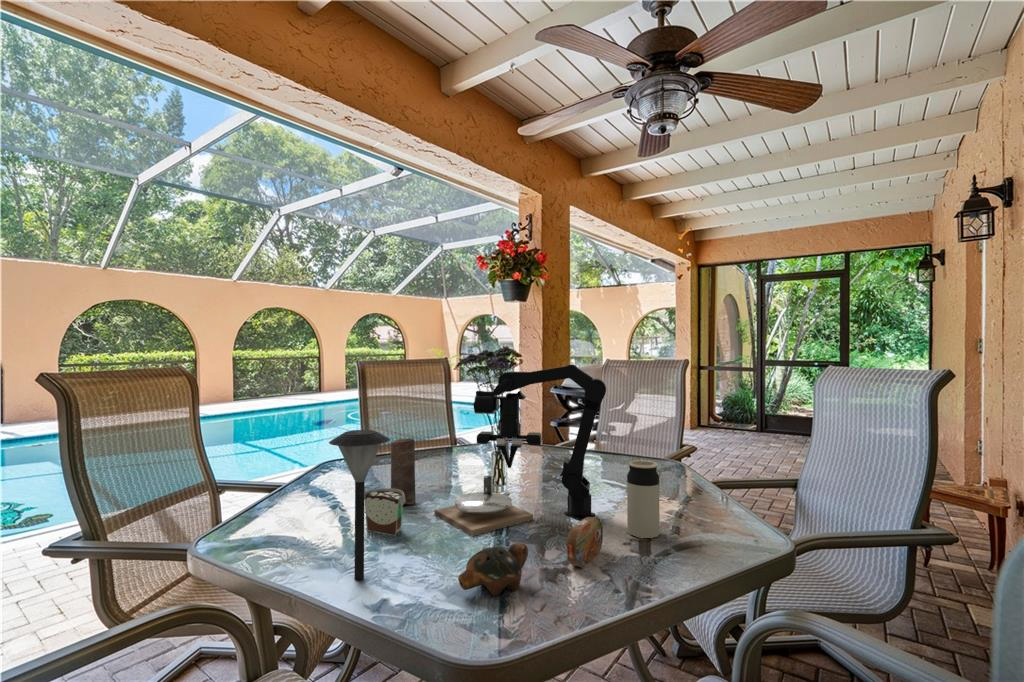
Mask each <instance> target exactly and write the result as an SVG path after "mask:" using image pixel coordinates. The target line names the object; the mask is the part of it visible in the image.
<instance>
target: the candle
mask: <svg viewBox="0 0 1024 682" xmlns="http://www.w3.org/2000/svg"><path fill="white" fill-rule="evenodd" d="M415 452H416V451H415V438H411V437H409V438H406V437H403V438H402V437H401V438H397V439H396V440H393V441H391V442H390V488H391V489H398V490H401V491H403V493H404V495H405V499H406V502H405V503H404V504H403V505H415V504H416V464H415V463H416V459H415V457H416V456H415V455H416V453H415Z"/></svg>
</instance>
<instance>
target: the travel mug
mask: <svg viewBox="0 0 1024 682" xmlns="http://www.w3.org/2000/svg"><path fill="white" fill-rule="evenodd" d="M627 464H628V468H629V470H628V472H627V474H626V488H627V489H626V492H627V493H626V494H627V495H626V497H627V498H626V501H627V503H626V504H627V505H626V506H627V509H626V513H627V519H626V520H627V522H626V523H627V527H626V528H627V529H626V530H627V533H628V534H629V535H631V536H632V535H633V536H632V537H634V536H636V537H635V538H637V537H640V538H639V539H643V538H651V539H655V538H657V537H659V536H660V535H659V534H660V532H661V531H660V528H661V526H660V524H661V523H660V520H661V519H660V518H661V516H660V513H661V512H660V475H659V473H658V472H657V471H658V466H659V464H658V463H657V462H655V461H652V460H647V459H646V460H645V459H634V460H630V461H628V462H627ZM658 535H659V536H658ZM641 537H642V538H641ZM654 537H655V538H654Z"/></svg>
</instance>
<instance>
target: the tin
mask: <svg viewBox="0 0 1024 682" xmlns="http://www.w3.org/2000/svg"><path fill="white" fill-rule="evenodd" d="M603 530H604V529H603V524H602V521H601V519H600V518H599V517H597V516H592V517H586V518H584V519H581V520H580V521H579V522H578V523H576V524H575V525H574V526H572V528H570V529H569V531H568V532H569V533H568V535H567V539H566V551H567V552H566V553H567V560H568V563H569V564H570V565H571V566H574V567H579V568H580V569H584V568H586V567H587V566H588V565H589V564H590V563H591V562H592V561H593V560H594V559H595V558H596V557H597V556H598V555H599V554H600V552H601V549H602V545H603V540H604V539H603V538H604V537H603V536H604V533H603V532H604V531H603ZM588 563H589V564H588ZM587 564H588V565H587ZM586 565H587V566H586ZM585 566H586V567H585Z"/></svg>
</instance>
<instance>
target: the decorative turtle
mask: <svg viewBox="0 0 1024 682" xmlns="http://www.w3.org/2000/svg"><path fill="white" fill-rule="evenodd" d="M528 556H529V549H528V546H527V545H526V544H525V543H523V542H514V543H512V544H511V545H510V546H509V548H508V550H507V549H505V548H503V547H502V546H492V547H488V548H484V549H482V550H480V551H478V552H476V553H474V554H473V555H472V556H471V557H470V558H469V559H468V560H467V563H466V564H465V565H466V566H465V570H464V571H463V572H462V573H460V574H459V575H458V578H457V579H458V583H459V586H460V587H461V589H463V590H464V591H466V590H471V589H474V588H477V587H480V586H481V587H486V588H487V589H488V591H489V593H490V594H491V596H492V597H497V596H499V595H500V593H502V591H503V590H505V588H506V587H507V588H508V589H509V590H511V592H515V591H517V590H518V589H519V587H520V584H521V581H522V572H523V570H522V569H523V567H524V565H525V564H526V561H527V559H528Z"/></svg>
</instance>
